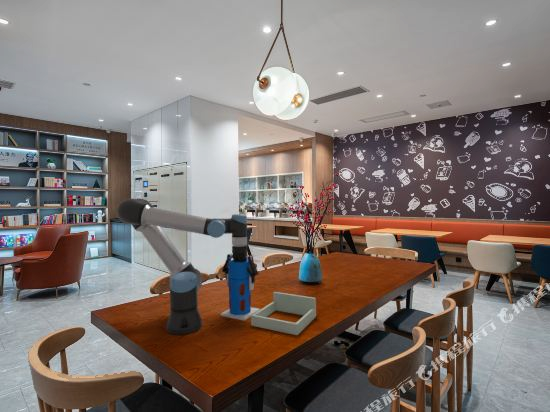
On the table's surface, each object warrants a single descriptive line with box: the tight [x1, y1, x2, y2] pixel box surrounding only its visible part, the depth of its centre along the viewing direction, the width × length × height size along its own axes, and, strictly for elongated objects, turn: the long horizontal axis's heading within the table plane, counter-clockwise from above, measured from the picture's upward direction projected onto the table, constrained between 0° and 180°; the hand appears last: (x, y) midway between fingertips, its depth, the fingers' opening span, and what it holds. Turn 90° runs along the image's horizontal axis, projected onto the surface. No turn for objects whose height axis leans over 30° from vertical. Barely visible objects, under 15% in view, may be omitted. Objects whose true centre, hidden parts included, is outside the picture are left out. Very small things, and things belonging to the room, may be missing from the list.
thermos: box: [228, 259, 252, 315], centre depth 148 cm, size 11×11×25 cm
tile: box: [220, 306, 261, 321], centre depth 148 cm, size 14×14×1 cm
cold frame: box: [250, 291, 317, 336], centre depth 138 cm, size 22×22×9 cm
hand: (240, 287), depth 148 cm, fingers open, 13 cm apart
